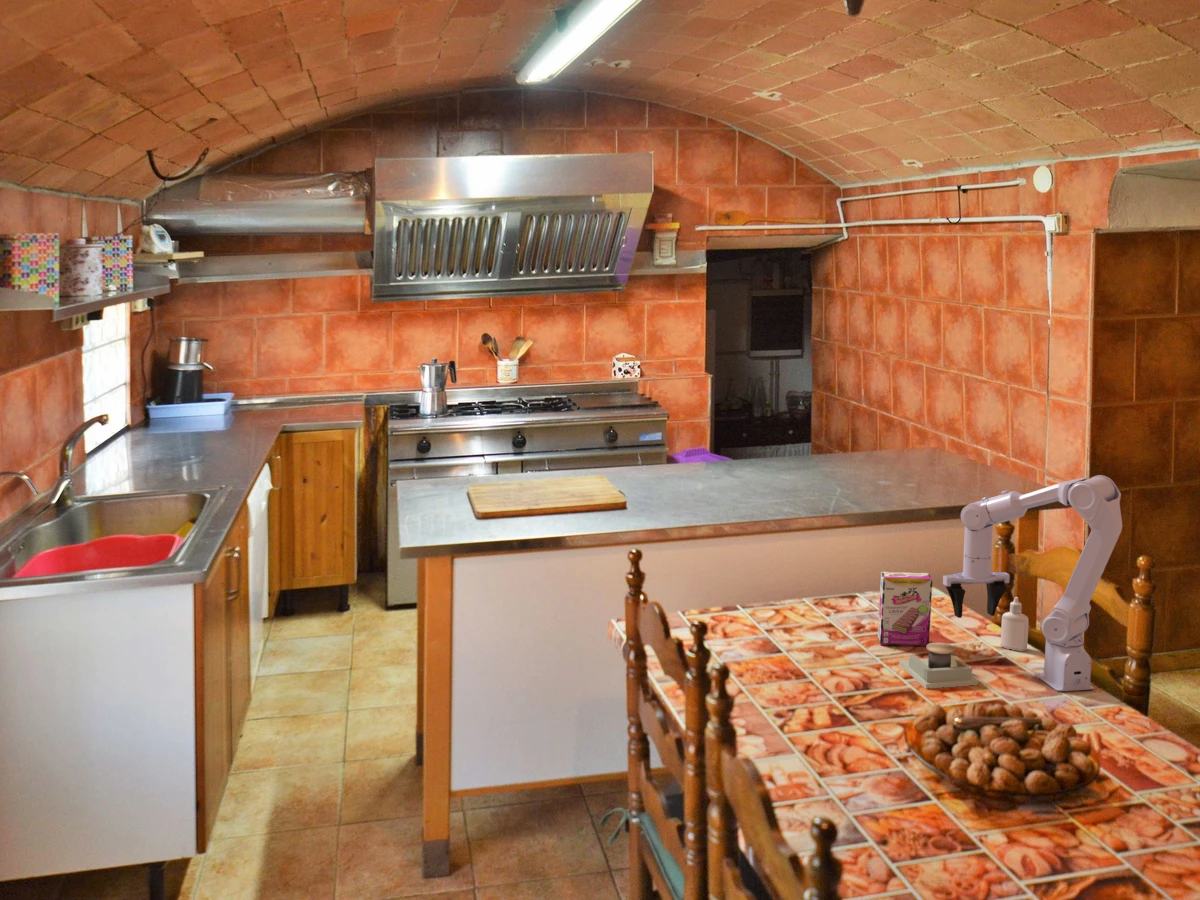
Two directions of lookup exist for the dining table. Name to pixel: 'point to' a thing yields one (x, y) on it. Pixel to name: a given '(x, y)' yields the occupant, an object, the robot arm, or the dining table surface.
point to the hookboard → (939, 673)
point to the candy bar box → (904, 608)
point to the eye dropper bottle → (1014, 628)
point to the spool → (939, 655)
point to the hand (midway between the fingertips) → (974, 615)
